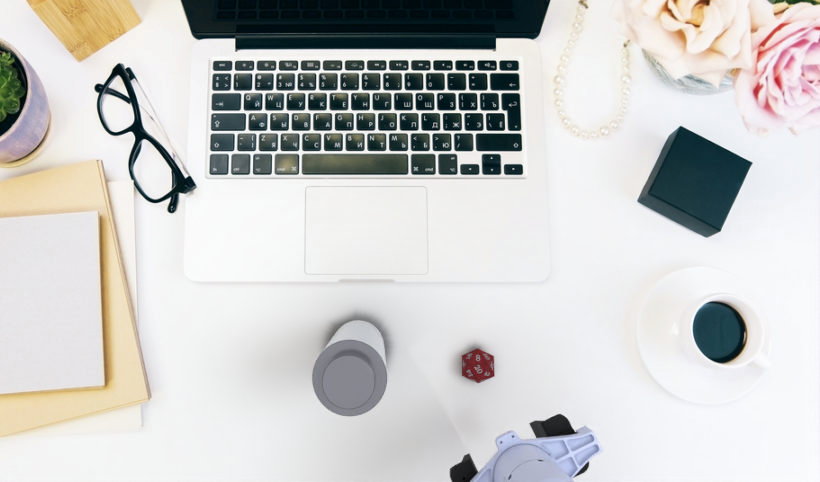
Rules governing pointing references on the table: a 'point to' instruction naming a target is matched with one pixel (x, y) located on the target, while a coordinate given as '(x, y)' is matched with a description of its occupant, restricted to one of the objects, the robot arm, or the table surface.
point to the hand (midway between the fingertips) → (503, 447)
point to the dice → (478, 365)
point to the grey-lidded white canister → (351, 370)
